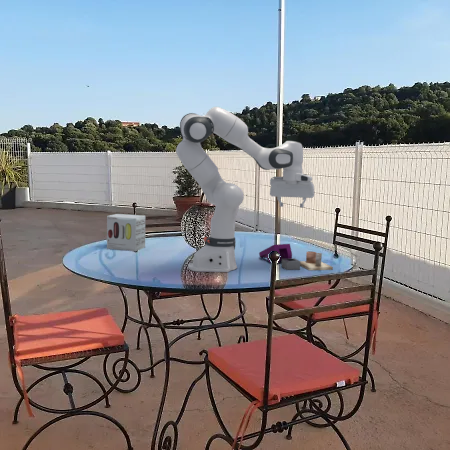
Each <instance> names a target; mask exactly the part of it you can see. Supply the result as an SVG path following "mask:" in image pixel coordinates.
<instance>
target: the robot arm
mask: <svg viewBox="0 0 450 450" xmlns="http://www.w3.org/2000/svg"><path fill="white" fill-rule="evenodd" d="M179 129H180V135H181V139H182V140H181V141H180V142H179V143H178V144H177V146H176V150H175V152H176V155H177V157H178V159H179V161H180V162H181V164H182V166H184V168H185V169H186V170H187V172H188V173H189V174H190V175H191V176H192V178H193V179H194V180H195V182H197V183H198V186H199V187H200V189H201V190H202V192H203V194H204V196H205V199H206V200H207V201H208V202H209V203H210V204H211V205H214V206H215V209H214V213H213V215H212V217H211V219H210V235H209V236H204V237H203V241H204V242H205V245H204V246H203V247H201V248H200V249H198V250H197V251H196V252H194V254H193V258H192V262H190V263H188V264H187V268H188V270H190V271H191V272H192V271H193V272H199V273H200V272H208V273H211V272H213V273H214V272H215V273H228V272H231V271H234V270H236V269H238V266H237V262H236V255H235V254H236V253H235V250H236V245H237V244H236V241H237V240H236V236H235V234H236V232H235V231H236V219H237V215H238V210H239V208H240V205H242V203H243V201H244V199H245V198H244V195H245V194H244V191H243V190H242V188H241V187H240V186H238V185H237V184H235V183H231V182H226V181H225V180H224V179H223V178H222V176H221V174H220V172H219V167H218V166H217V165H216V164H215V162H214V161H213V160H212V158H211V157H210V156H209V155H208V154H207V152H206V151H205V150H204V149H203V147H202V145H201V143H202V142H204V141H205V140H207V139H208V138H209V137H210V136H211V135H213V134H215V135H217V136H218V137H220V138H221V139H223V140H224V141H225V142H227V143H229V144H231V145H234V146H235V147H238V148H239V149H240V150H242V151H243V152H244V153H246V154H247V155H249V156H250V157H252V159H253V160H254V161H255V163H256V164H257V166H258V167H259V168H261V169H262V170H265V171H269V170H270V171H271V170H281V169H282V176H273V177H271V178H270V180H269V181H270V182H269V185H270V189H269V195H270V196H271V197H275V198H277V199H276V200H277V201H278V204H279V207H281V208H282V207H284V202H282V200H281V199H282V198H302V203H299V208H304V206H305V205H304V204H305V203H306V201H307V199H312V198H314V197H315V186H314V183H313V182H312V181H313V176H312V175H308V174H306V173H303V161H304V149H303V144H302V143H301V142H299V141H296V140H286V141H285V142H284V143H282V144H281V145H278V146H276V147H271V148H269V147H263V146H261V145H260V144H258V142H255V141H254V139H252V138H250V136H249V127H248V126H247V124H246V123H245V122H244V121H243V120H242V119H240V118H239V117H238V116H236V115H235V114H233V113H231V111H228V110H226V109H224V108H222V107H220V106H213V107H211V108H210V109H208V111H207V112H206V114H204V115H199V114H197V113H193V112H189V113H186V114H184V115H183V116H182V118H181V120H180V123H179Z"/></svg>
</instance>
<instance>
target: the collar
mask: <svg viewBox="0 0 450 450" xmlns="http://www.w3.org/2000/svg"><path fill="white" fill-rule="evenodd" d="M300 261H301V260H299V259H297V258H295V257H294V258H293V257H292V258H288V259H282V262H281V268H283V269H284V270H286V271H297V270H298V271H300V270H301V266H300Z"/></svg>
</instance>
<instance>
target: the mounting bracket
mask: <svg viewBox="0 0 450 450" xmlns="http://www.w3.org/2000/svg"><path fill="white" fill-rule="evenodd" d="M271 251H277V252H278V253H279V254H280V256H281V257H280V260H279V261H278V263H280V262H281V263H282V259H288V258H293V251H292V248H291V243H283V244H281V243H279V244H272V245H271V246H269V247H266V248H265V249H263V250H262V251H260V252H259V253H258V254H259V258H260V259H262V258H263V257H264V258H267V261H268V263H270V260H269V258H268V254H269V253H270V252H271Z"/></svg>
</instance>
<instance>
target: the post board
mask: <svg viewBox="0 0 450 450" xmlns="http://www.w3.org/2000/svg"><path fill="white" fill-rule="evenodd" d="M322 254H323V253H321V252H316V251H311V250H310V251H306V255H305V256H306V257H305V260H302V261H301V260H299V261H300V267H301V268H304V269H306V270H308V271H331V270H332V271H333V268H334V267H333V266H331V265H329V264H327V263H326V262H323V261H322Z"/></svg>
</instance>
